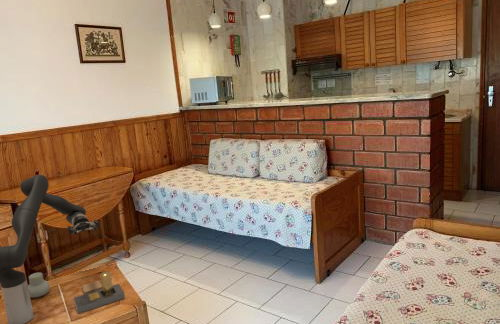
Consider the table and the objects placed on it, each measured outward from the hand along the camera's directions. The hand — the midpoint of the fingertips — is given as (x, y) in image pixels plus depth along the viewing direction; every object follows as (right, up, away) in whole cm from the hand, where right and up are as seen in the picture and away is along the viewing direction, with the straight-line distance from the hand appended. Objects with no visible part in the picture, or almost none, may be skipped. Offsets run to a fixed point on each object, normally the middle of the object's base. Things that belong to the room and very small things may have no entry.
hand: (85, 230), depth 191 cm
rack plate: (+11, -30, -12) cm, 34 cm away
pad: (+4, -28, -1) cm, 28 cm away
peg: (+15, -29, -10) cm, 34 cm away
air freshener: (-22, -30, -1) cm, 37 cm away
